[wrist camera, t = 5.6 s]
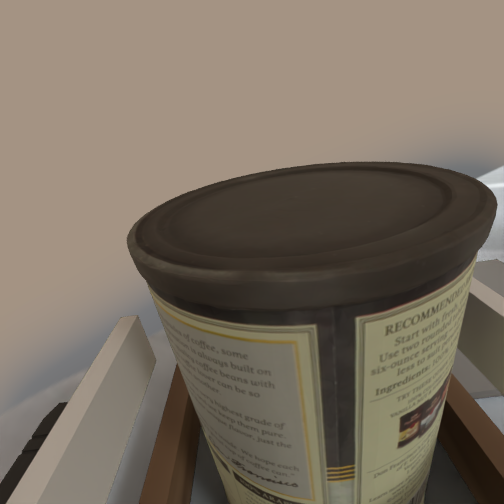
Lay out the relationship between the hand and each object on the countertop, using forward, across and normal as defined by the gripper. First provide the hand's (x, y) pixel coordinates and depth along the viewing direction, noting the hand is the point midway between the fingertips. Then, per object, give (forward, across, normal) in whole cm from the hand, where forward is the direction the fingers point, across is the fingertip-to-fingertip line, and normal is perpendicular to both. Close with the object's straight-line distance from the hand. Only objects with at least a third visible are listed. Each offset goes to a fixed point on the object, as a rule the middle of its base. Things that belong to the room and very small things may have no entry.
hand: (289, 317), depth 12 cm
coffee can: (-1, 0, -8) cm, 9 cm away
